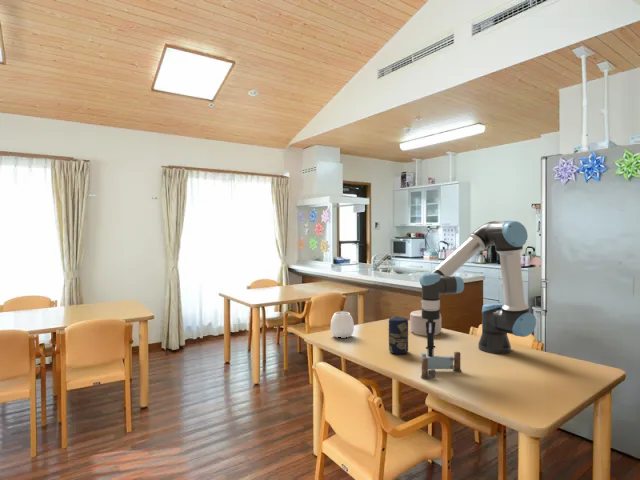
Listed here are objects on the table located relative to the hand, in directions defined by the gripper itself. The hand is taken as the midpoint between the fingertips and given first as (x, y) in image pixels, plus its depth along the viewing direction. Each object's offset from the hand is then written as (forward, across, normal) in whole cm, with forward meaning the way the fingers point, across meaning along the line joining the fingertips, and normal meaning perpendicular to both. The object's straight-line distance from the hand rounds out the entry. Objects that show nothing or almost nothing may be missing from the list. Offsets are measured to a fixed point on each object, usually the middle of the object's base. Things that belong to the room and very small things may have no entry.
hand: (430, 363), depth 177 cm
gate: (+3, +1, +3) cm, 4 cm away
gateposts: (+3, +5, +5) cm, 8 cm away
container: (+4, -65, -5) cm, 65 cm away
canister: (+4, -21, -16) cm, 27 cm away
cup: (+4, -43, -50) cm, 66 cm away
